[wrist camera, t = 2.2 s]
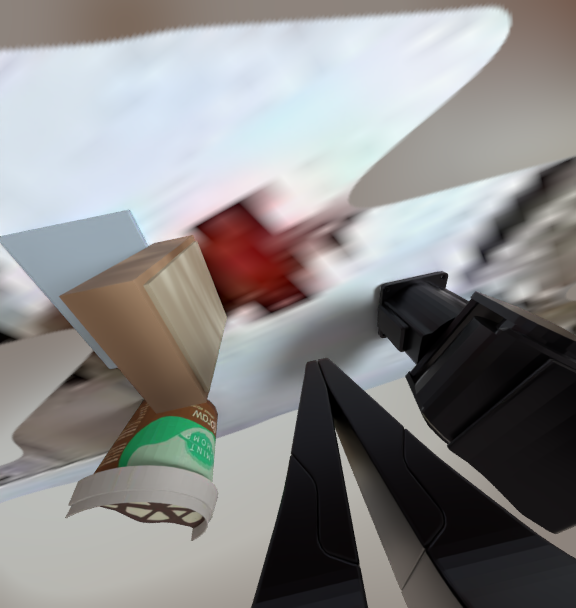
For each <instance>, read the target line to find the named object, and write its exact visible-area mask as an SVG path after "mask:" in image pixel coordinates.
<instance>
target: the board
mask: <svg viewBox="0 0 576 608" xmlns="http://www.w3.org/2000/svg"><path fill="white" fill-rule="evenodd" d="M0 243H1V244H2V245H3V246H4V248H5V249H6V250H7V251H8V252H9V253H10V254H11V256H12V257H13V258H14V259H15V260H16V261H17V263H18V264H19V265H20V266H21V267H22V268H23V270H24V271H25V272H26V273H27V274H28V275H29V276H30V278H31V279H32V280H33V281H34V282H35V283H36V285H37V286H38V287H39V288H40V289H41V290H42V291H43V293H44V294H45V295H46V296H47V297H48V298H49V300H50V301H51V302H52V303H53V304H54V305H55V307H56V308H57V309H58V310H59V311H60V312H61V313H62V315H63V316H64V317H65V318H66V319H67V320H68V322H69V323H70V324H71V325H72V326H73V327H74V328H75V330H76V331H77V332H78V333H79V334H80V335H81V337H82V338H83V339H84V340H85V341H86V342H87V343H88V345H89V346H90V347H91V348H92V349H93V350H94V352H95V353H96V354H97V355H98V356H99V357H100V359H101V360H102V361H103V362H104V363H105V364H106V365H107V367H108V368H109V369H113V368H118V367H117V366H116V365H115V363H114V362H113V361H112V360H111V359H110V357H109V356H108V355H107V354H106V353H105V351H104V350H103V349H102V348H101V347H100V345H99V344H98V343H97V342H96V341H95V339H94V338H93V337H92V336H91V335H90V333H89V332H88V331H87V330H86V329H85V327H84V326H83V325H82V324H81V323H80V321H79V320H78V319H77V318H76V317H75V315H74V314H73V313H72V312H71V311H70V309H69V308H68V307H67V306H66V305H65V303H64V302H63V301H62V300H61V299H60V297H59V296H60V295H62V294H64V293H66V292H67V291H69V290H71V289H73V288H75V287H76V286H78V285H80V284H82V283H84V282H85V281H87V280H89V279H91V278H93V277H94V276H96V275H98V274H100V273H102V272H103V271H105V270H107V269H109V268H111V267H112V266H114V265H116V264H118V263H120V262H121V261H123V260H125V259H127V258H129V257H130V256H132V255H134V254H136V253H138V252H139V251H141V250H143V249H145V248H147V247H148V245H147V243H146V241H145V239H144V237H143V235H142V233H141V231H140V229H139V227H138V225H137V223H136V221H135V219H134V217H133V215H132V213H131V211H130V210H126V211H121V212H116V213H111V214H106V215H102V216H97V217H92V218H87V219H82V220H77V221H72V222H68V223H63V224H58V225H53V226H48V227H43V228H38V229H34V230H29V231H24V232H19V233H14V234H9V235H4V236H0Z"/></svg>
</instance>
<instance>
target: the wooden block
mask: <svg viewBox="0 0 576 608" xmlns="http://www.w3.org/2000/svg"><path fill="white" fill-rule="evenodd" d="M59 297H60V299H61V300H62V301H63V302H64V303H65V305H66V306H67V307H68V308H69V309H70V311H71V312H72V313H73V314H74V315H75V317H76V318H77V319H78V320H79V321H80V323H81V324H82V325H83V326H84V327H85V329H86V330H87V331H88V332H89V333H90V335H91V336H92V337H93V338H94V339H95V341H96V342H97V343H98V344H99V345H100V347H101V348H102V349H103V350H104V351H105V353H106V354H107V355H108V356H109V357H110V359H111V360H112V361H113V362H114V363H115V365H116V366H117V367H118V368H119V369H120V371H121V372H122V373H123V374H124V375H125V377H126V378H127V379H128V380H129V381H130V383H131V384H132V385H133V386H134V387H135V389H136V390H137V391H138V392H139V394H140V395H141V396H142V397H143V398H144V400H145V401H146V402H147V403H148V404H149V406H150V407H151V408H152V409H153V410H154V412H155V413H156V414H157V413H162V412H166V411H170V410H175V409H179V408H184V407H188V406H193V405H197V404H201V403H206V402H207V398H208V393H209V391H210V387H211V383H212V378H213V374H214V370H215V366H216V361H217V357H218V353H219V349H220V344H221V340H222V336H223V332H224V327H225V323H226V319H227V317H226V314H225V311H224V309H223V306H222V304H221V301H220V299H219V296H218V294H217V291H216V289H215V286H214V283H213V281H212V278H211V276H210V273H209V271H208V268H207V266H206V263H205V261H204V258H203V255H202V253H201V250H200V248H199V245H198V243H197V241H195V239H194V237H193V235H191V236H187V237H182V238H177V239H172V240H167V241H163V242H158V243H154V244H152V245H150V246H148V247H147V248H145V249H143V250H141V251H139V252H138V253H136V254H134V255H132V256H130V257H129V258H127V259H125V260H123V261H121V262H120V263H118V264H116V265H114V266H112V267H111V268H109V269H107V270H105V271H103V272H102V273H100V274H98V275H96V276H94V277H93V278H91V279H89V280H87V281H85V282H84V283H82V284H80V285H78V286H76V287H75V288H73V289H71V290H69V291H67V292H66V293H64V294H62V295H60V296H59Z"/></svg>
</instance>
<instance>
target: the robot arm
mask: <svg viewBox="0 0 576 608" xmlns="http://www.w3.org/2000/svg"><path fill="white" fill-rule="evenodd" d="M447 279H448V274H447V273H445V272H443V271H441V272H436V273H431V274H427V275H422V276H418V277H413V278H409V279H404V280H399V281H395V282H390V283H386V284H384V285H382V287H381V293H380V305H379V307H378V327H379V331H378V334H379V335H380V337H381V338H386V337H387V338H388V339H389V340H390V341H391V342H392V344H393V345H394V346H395V347H396V348H397V349H398V350H399V351H400V352H404V351H405V352H406V354H407V355H408V356H409V357H410V358H411V359H412V360H413V361H414V363H415V364H416V366H415V367H414V368H413V369H412V370H411V372H410V371H409V372H408V373H407V375H406V376H405V377H406V379H407V381H408V384H409V386H410V388H411V391H412V393H413V395H414V398H415V400H416V402H417V404H418V407H419V409H420V411H421V414H422V415H423V418H424V419H425V421H426V423H427V425H428V426H429V427H430V428H431V429H432V430H433V431H434V432H435V434H437V435H438V436H439V437H440V438H441V439H442V440H443V441H444V442H446V443H447V447H448V448H449V450H450V451H452V452H453V453H455V454H456V455H458V456H459V457H461V458H462V459H463V460H465V461H466V462H468V463H469V464H470V465H471V466H473V467H474V468H475V469H476V470H477V471H478V472H480V473H481V474H482V475H483V476H484V477H485V478H486V479H487V480H488V481H490V483H491V484H492V485H493V486H495V487H496V489H498V491H499V492H501V494H503V496H504V497H505V498H506V499H507V500H508V501H509V502H510V503H511V504H512V505H513V506H514V507H515V508H516V509H517V510H518V511H519V512H520V513H521V514H522V515H524V516H525V517H527V518H528V519H530V520H532V521H533V522H535V523H536V524H538V525H540V526H541V527H543V528H545V529H546V530H548V531H549V532H552V533H554V534H558V533H560V532H563V531H565V530H567V529H569V528H572V527H574V526H576V335H574V334H572V333H571V332H569V331H567V330H565V329H563V328H562V327H560V326H558V325H556V324H554V323H552V322H550V321H548V320H546V319H543V318H541V317H539V316H537V315H534V314H532V313H530V312H528V311H526V310H523V309H521V308H519V307H517V306H514V305H511V304H509V303H506V302H503V301H501V300H498V299H495V298H493V297H490V296H487V295H484V294H482V293H479V292H476V291H475V293H474V294H473V295H472V296H471V297H470V298H471V300H470V301H467V300H466V299H464V298H462V297H460V296H458V295H456V294H455V293H453V292H451V291H449V290H447V289H445V288H446V284H447ZM386 288H388V289H387V290H386ZM383 333H384V334H383ZM335 429H336V432H337V434H338V437H339V439H340V441H341V444H342V446H343V449H344V451H345V454H346V456H347V459H348V461H349V464H350V466H351V469H352V471H353V474H354V476H355V478H356V481H357V483H358V486H359V488H360V491H361V493H362V496H363V498H364V501H365V503H366V505H367V508H368V511H369V513H370V515H371V518H372V520H373V523H374V525H375V528H376V530H377V533H378V535H379V538H380V540H381V542H382V545H383V548H384V550H385V552H386V555H387V557H388V560H389V562H390V565H391V567H392V570H393V572H394V575H395V577H396V580H397V582H398V585H399V587H400V589H401V590H402V595H403V597H404V600H405V602H406V604H407V607H408V608H576V559H575V558H574V557H572V556H570V555H569V554H567V553H565V552H564V551H562V550H561V549H559V548H558V547H556V546H555V545H553V544H551V543H550V542H549V541H547V540H546V539H544V538H542V537H541V536H540V535H538V534H537V533H536V532H534V531H533V530H532V529H530V528H529V527H528V526H526V525H525V524H524V523H522V522H521V521H520V520H518V519H517V518H516V517H515V516H513V515H512V514H511V513H509V512H508V511H507V510H506V509H504V508H503V507H502V506H500V505H499V504H498V503H497V502H495V501H494V500H492V499H491V498H490V497H489V496H487V495H486V494H485V493H484V492H482V491H481V490H480V489H478V488H477V487H476V486H474V485H473V484H472V483H471V482H469V481H468V480H467V479H465V478H464V477H463V476H461V475H460V474H459V473H458V472H456V471H455V470H454V469H453V468H451V467H450V466H449V465H448V464H446V463H445V462H444V461H443V460H441V459H440V458H439V457H438V456H436V455H435V454H434V453H433V452H432V451H431V450H429V449H428V448H427V447H426V446H425V445H424V444H423V443H421V442H420V441H419V440H418V439H417V438H416V437H415V436H414V435H412V434H411V433H410V432H409V431H408V430H407V429H404V427H403V426H402V425H401V424H400V423H399V422H398V421H397V420H396V419H395V418H394V417H392V416H391V415H390V414H389V413H388V412H387V411H386V410H385V409H384V408H383V407H381V406H380V405H379V404H378V403H377V402H376V401H375V400H374V399H373V398H372V397H370V396H369V395H368V394H367V393H366V392H365V391H364V390H363V389H362V388H361V387H359V386H358V385H357V384H356V383H355V382H354V381H353V380H352V379H351V378H350V377H348V376H347V375H346V374H345V373H344V372H343V371H342V370H341V369H340V368H339V367H337V366H336V365H335V364H334V363H333V362H332V361H331V360H330V359H328V358H324V359H319V360H318V361H316V360H315V361H310V362H307V364H306V368H305V374H304V380H303V386H302V392H301V397H300V403H299V409H298V415H297V421H296V426H295V432H294V438H293V444H292V450H291V456H290V460H289V466H288V471H287V477H286V482H285V486H284V491H283V495H282V499H281V504H280V507H279V511H278V515H277V519H276V522H275V527H274V530H273V533H272V537H271V540H270V544H269V547H268V551H267V554H266V558H265V562H264V565H263V569H262V572H261V576H260V579H259V583H258V586H257V590H256V593H255V597H254V600H253V604H252V606H251V608H368V605H367V600H366V594H365V589H364V584H363V580H362V573H361V568H360V566H359V557H358V551H357V546H356V541H355V535H354V530H353V524H352V519H351V513H350V509H349V503H348V497H347V492H346V486H345V481H344V476H343V470H342V465H341V459H340V454H339V448H338V443H337V437H336V432H335Z"/></svg>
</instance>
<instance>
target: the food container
mask: <svg viewBox="0 0 576 608" xmlns="http://www.w3.org/2000/svg"><path fill="white" fill-rule="evenodd" d="M217 417H218V413H217V411H216V408H215V406H214V405H213V404H212V403H211V402H210V401H209V400H207V402H206V403H201V404H197V405H193V406H188V407H184V408H179V409H175V410H170V411H166V412H162V413H157V414H156V413H155V412H154V410H153V409H152V408H151V407H150V406H149V404H148V403H147V402H146V401H145V400H143V402H142V403H141V405H140V406H139V408H138V409H137V411H136V412H135V414H134V415H133V416H132V418H131V419H130V421H129V422H128V424H127V425H126V427H125V428H124V430H123V431H122V433H121V434H120V436H119V437H118V439H117V440H116V442H115V443H114V444H113V446H112V447H111V449H110V450H109V452H108V453H107V455H106V456H105V458H104V459H103V461H102V462H101V464H100V465H99V467H98V468H97V470H96V471H95V473H94V474H93V475H90V476H88V477H85V478H83V479H82V480H80V481H78V483H77V486H76V488H75V490H74V493H73V495H72V498H71V500H70V502H69V506H71V508H70V510H69V512H68V514H67V515H66V517H65V518H68V517H70V516H72V515H74V514H76V513H79V512H81V511H84V510H87V509H91V508H94V507H99V506H100V507H103V508H107V509H111V510H115V511H117V512H119V513H121V514H124V515H126V516H128V517H130V518H132V519H134V520H136V521H139V522H143V523H160V522H168V523H176V524H180V525H185V526H190V527H192V528H193V531H192V539H191V541H193V540H195V539H197V538H198V537H200V536H201V535H202V534H203V533H204V532H205V531H206V529H207V527H208V523H209V522H210V520H211V518H212V515H213V512H214V508H215V505H216V502H217V498H218V491H217V488H216V486H215V485H214V484H213V483H212V478H213V466H214V454H215V441H216V429H217Z"/></svg>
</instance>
